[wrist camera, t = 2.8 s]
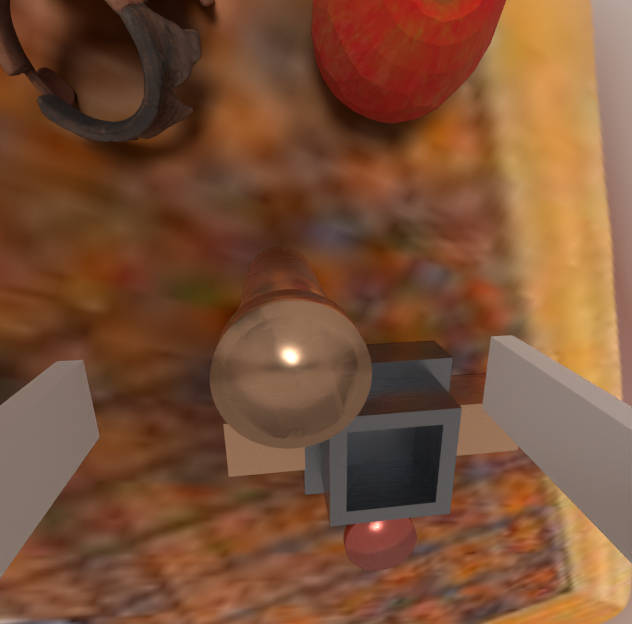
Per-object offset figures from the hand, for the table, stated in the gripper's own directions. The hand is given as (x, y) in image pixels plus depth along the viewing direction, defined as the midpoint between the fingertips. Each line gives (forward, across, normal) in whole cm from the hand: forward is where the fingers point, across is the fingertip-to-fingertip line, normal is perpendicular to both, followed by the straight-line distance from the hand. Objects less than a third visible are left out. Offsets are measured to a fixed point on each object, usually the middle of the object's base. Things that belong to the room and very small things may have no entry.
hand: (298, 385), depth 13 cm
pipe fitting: (+14, 0, 0) cm, 14 cm away
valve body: (+14, +6, -12) cm, 19 cm away
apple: (+14, +6, +13) cm, 20 cm away
